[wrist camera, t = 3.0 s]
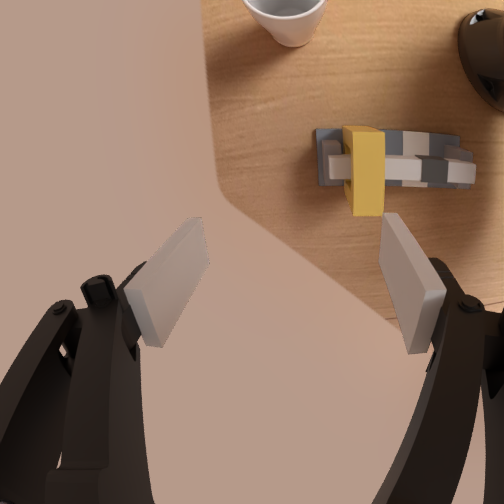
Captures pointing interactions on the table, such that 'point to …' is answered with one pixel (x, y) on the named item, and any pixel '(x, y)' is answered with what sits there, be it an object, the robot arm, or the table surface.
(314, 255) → the table surface
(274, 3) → the white cup
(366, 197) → the collar
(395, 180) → the rail
